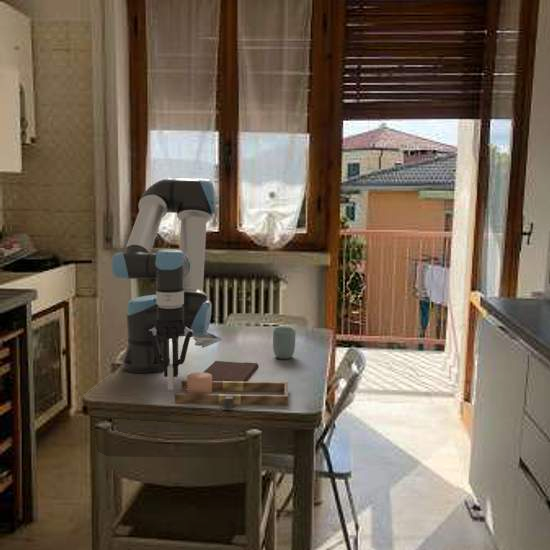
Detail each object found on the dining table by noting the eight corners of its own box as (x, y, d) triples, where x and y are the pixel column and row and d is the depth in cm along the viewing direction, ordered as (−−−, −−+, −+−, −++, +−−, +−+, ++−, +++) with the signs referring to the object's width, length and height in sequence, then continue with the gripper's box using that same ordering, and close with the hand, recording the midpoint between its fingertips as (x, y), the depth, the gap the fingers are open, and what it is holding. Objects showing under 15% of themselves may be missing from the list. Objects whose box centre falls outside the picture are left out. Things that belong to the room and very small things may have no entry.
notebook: (194, 384, 183) (194, 377, 183) (214, 365, 202) (214, 359, 202) (242, 388, 180) (242, 381, 180) (258, 368, 199) (258, 362, 199)
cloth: (217, 350, 221) (217, 344, 221) (180, 349, 222) (180, 343, 222) (227, 333, 247) (227, 327, 247) (194, 332, 248) (194, 326, 248)
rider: (185, 400, 168) (185, 379, 167) (189, 392, 175) (189, 372, 174) (210, 401, 168) (210, 380, 167) (213, 392, 175) (213, 372, 174)
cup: (292, 361, 206) (293, 332, 205) (270, 359, 208) (270, 331, 206) (296, 355, 214) (297, 327, 212) (275, 353, 215) (275, 326, 214)
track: (173, 406, 163) (173, 397, 163) (181, 388, 177) (181, 380, 177) (288, 408, 163) (288, 399, 162) (287, 390, 177) (287, 382, 177)
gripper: (143, 308, 164) (145, 391, 167) (191, 308, 164) (192, 392, 167) (149, 302, 171) (151, 382, 175) (195, 303, 171) (196, 383, 175)
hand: (171, 387), depth 171 cm, fingers closed
